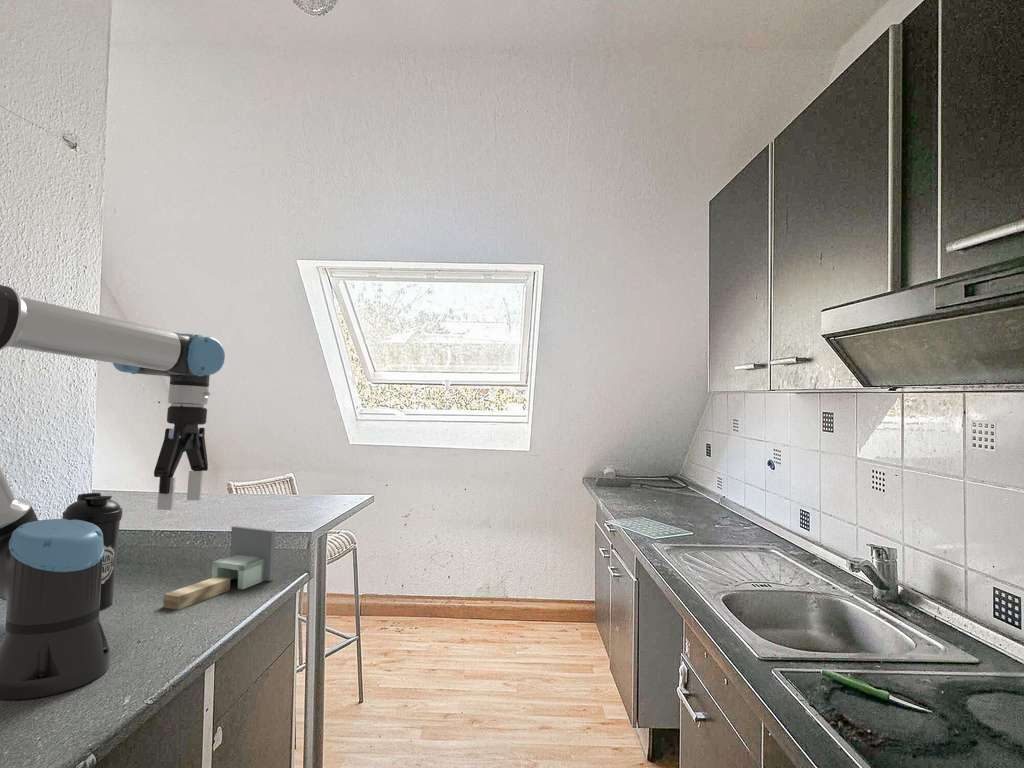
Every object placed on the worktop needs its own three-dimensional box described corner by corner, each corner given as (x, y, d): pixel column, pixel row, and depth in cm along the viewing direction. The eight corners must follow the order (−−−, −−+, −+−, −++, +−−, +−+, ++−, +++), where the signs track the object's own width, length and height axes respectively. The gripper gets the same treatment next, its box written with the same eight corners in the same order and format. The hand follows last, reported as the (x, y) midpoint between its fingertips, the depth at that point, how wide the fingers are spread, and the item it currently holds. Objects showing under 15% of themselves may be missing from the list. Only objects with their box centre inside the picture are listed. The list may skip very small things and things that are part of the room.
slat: (177, 611, 122) (178, 596, 122) (163, 608, 123) (163, 594, 123) (229, 591, 135) (230, 578, 135) (215, 589, 136) (216, 576, 136)
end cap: (248, 590, 135) (250, 537, 136) (206, 583, 139) (208, 532, 139) (273, 580, 143) (275, 530, 144) (232, 574, 147) (235, 525, 147)
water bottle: (66, 619, 114) (73, 500, 115) (49, 606, 121) (56, 494, 121) (125, 606, 123) (131, 495, 123) (106, 595, 129) (112, 489, 130)
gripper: (180, 405, 115) (171, 514, 114) (227, 407, 140) (220, 497, 139) (139, 403, 115) (130, 513, 113) (194, 406, 139) (187, 496, 138)
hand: (180, 504), depth 126 cm, fingers open, 13 cm apart
